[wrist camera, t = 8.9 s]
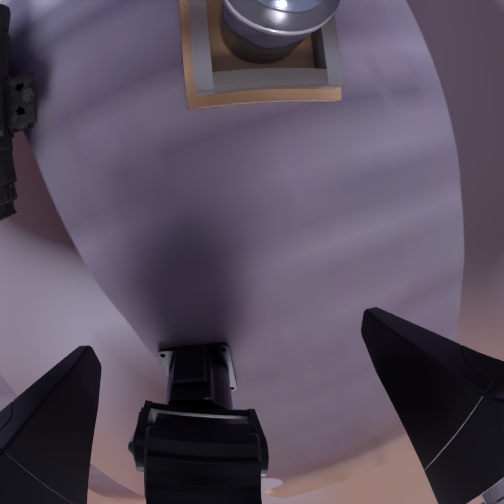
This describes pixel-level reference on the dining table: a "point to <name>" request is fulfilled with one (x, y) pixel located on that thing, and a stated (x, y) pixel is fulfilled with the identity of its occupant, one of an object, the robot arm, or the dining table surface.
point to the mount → (253, 65)
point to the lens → (271, 26)
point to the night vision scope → (11, 115)
